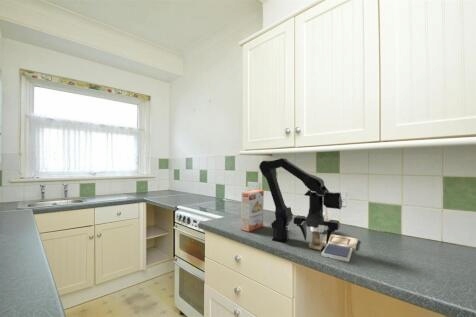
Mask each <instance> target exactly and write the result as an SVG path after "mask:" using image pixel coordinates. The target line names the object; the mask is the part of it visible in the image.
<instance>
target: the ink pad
mask: <svg viewBox="0 0 476 317" xmlns="http://www.w3.org/2000/svg"><path fill="white" fill-rule="evenodd" d="M352 254H353V250H352V248H349V247H343V246H338V245H333V244H327V245H325V247H324V249H323V250H322V252H321V257H324V258H328V257H329V259H333V260H339V261H342V262H350V260H351V256H352Z"/></svg>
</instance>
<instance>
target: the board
mask: <svg viewBox="0 0 476 317" xmlns="http://www.w3.org/2000/svg"><path fill="white" fill-rule="evenodd" d="M326 238H327V233H326V234H325V236H324V237H323V238H322V240H320V242H321V243H323V246H326V245H327V244H326ZM358 242H359V239H358V238H355V237H349V236H344V235H338V234H337V235H336V234H333V233H331V236H330V239H329V241H328V244H333V245H338V246H343V247H349V248H352V251H356V250H357V247H358V246H357V245H358Z"/></svg>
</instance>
